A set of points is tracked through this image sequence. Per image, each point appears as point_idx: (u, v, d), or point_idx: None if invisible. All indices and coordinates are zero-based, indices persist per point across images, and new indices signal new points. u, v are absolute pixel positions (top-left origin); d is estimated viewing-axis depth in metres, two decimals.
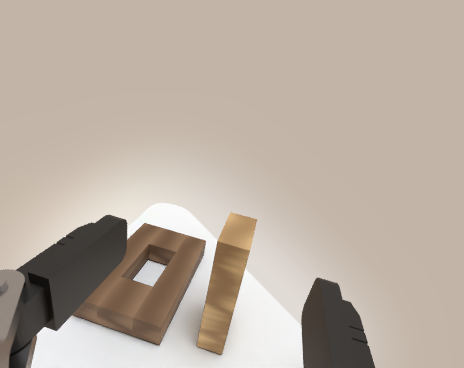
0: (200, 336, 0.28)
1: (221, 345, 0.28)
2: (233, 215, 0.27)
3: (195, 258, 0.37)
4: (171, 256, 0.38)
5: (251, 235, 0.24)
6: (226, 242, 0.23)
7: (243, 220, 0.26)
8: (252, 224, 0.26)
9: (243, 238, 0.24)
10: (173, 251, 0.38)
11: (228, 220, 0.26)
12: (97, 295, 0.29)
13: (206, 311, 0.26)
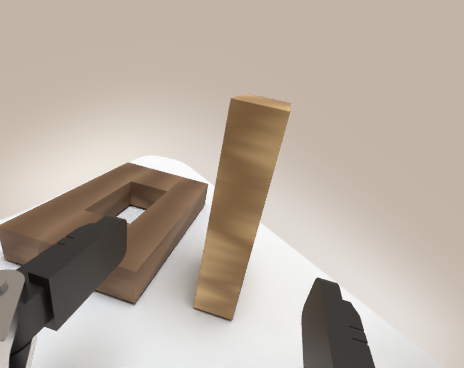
0: (199, 290, 0.18)
1: (232, 304, 0.18)
2: (253, 95, 0.17)
3: (193, 199, 0.27)
4: None
5: (287, 106, 0.14)
6: (246, 101, 0.13)
7: (269, 99, 0.16)
8: (285, 103, 0.16)
9: (274, 105, 0.14)
10: (164, 191, 0.28)
11: (246, 95, 0.16)
12: (41, 228, 0.19)
13: (209, 244, 0.16)
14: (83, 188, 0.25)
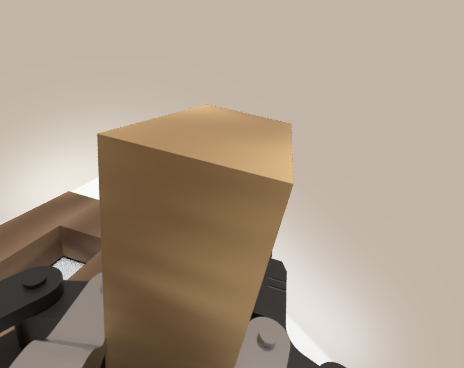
0: None
1: None
2: (214, 108, 0.08)
3: None
4: None
5: (284, 143, 0.06)
6: (150, 142, 0.04)
7: (247, 118, 0.08)
8: (281, 127, 0.07)
9: (249, 145, 0.05)
10: None
11: (194, 110, 0.07)
12: None
13: None
14: None
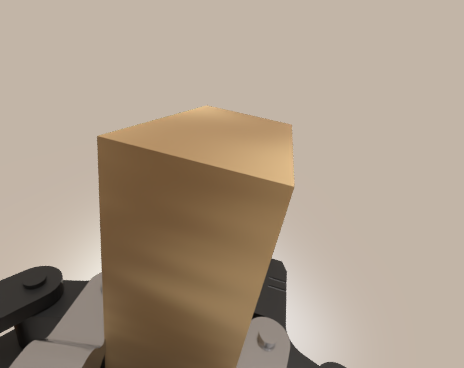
0: None
1: None
2: (214, 109, 0.08)
3: None
4: None
5: (284, 145, 0.06)
6: (151, 145, 0.04)
7: (248, 119, 0.08)
8: (281, 128, 0.07)
9: (249, 146, 0.05)
10: None
11: (194, 111, 0.07)
12: None
13: None
14: None
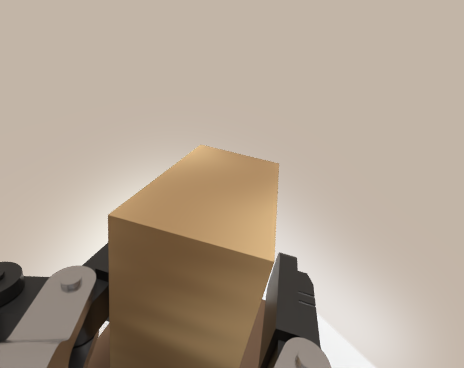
0: None
1: None
2: (208, 150, 0.09)
3: None
4: None
5: (270, 199, 0.06)
6: (154, 220, 0.05)
7: (238, 162, 0.08)
8: (268, 171, 0.08)
9: (238, 208, 0.06)
10: None
11: (189, 158, 0.08)
12: None
13: None
14: None
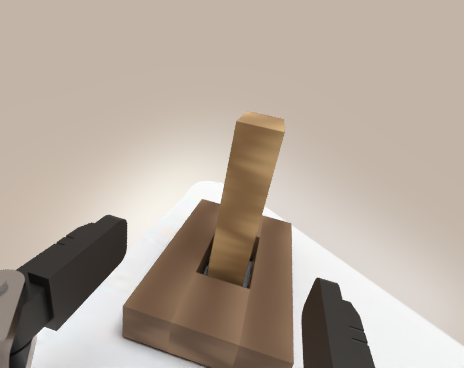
0: None
1: None
2: (252, 113, 0.20)
3: (289, 246, 0.25)
4: None
5: (281, 125, 0.17)
6: (249, 123, 0.15)
7: (266, 117, 0.19)
8: (280, 120, 0.19)
9: (271, 124, 0.16)
10: None
11: (246, 114, 0.19)
12: (167, 304, 0.17)
13: (217, 240, 0.19)
14: (179, 239, 0.23)
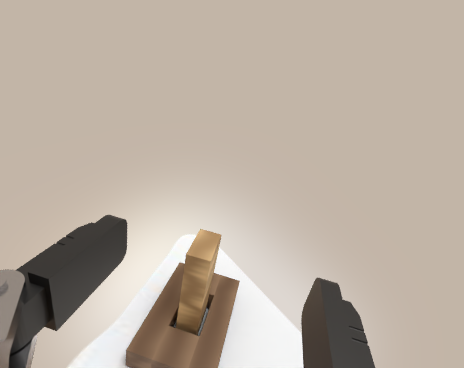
0: None
1: None
2: (202, 231, 0.34)
3: (233, 302, 0.39)
4: (209, 299, 0.40)
5: (214, 248, 0.31)
6: (193, 255, 0.29)
7: (210, 235, 0.33)
8: (217, 238, 0.33)
9: (207, 251, 0.30)
10: (211, 295, 0.39)
11: (197, 236, 0.33)
12: (150, 348, 0.30)
13: (180, 308, 0.33)
14: (160, 300, 0.37)
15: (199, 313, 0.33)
